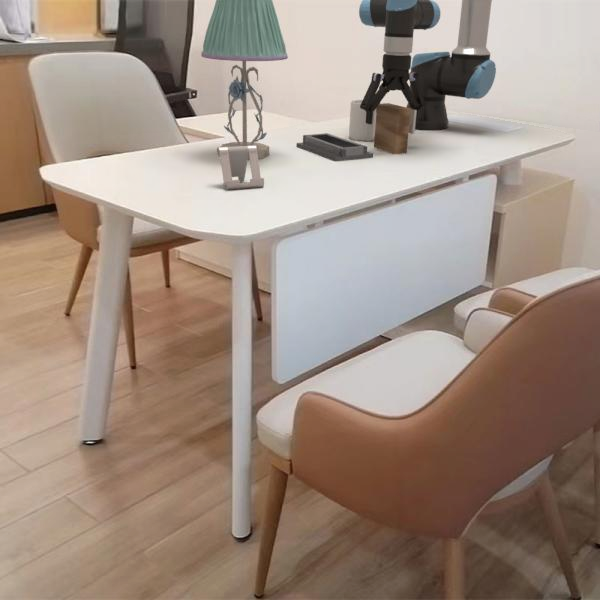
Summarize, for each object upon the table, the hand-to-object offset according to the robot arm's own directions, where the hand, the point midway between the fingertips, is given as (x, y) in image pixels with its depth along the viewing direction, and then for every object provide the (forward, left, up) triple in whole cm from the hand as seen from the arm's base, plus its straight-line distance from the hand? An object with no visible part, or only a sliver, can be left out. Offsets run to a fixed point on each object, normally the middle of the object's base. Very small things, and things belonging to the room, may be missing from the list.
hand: (390, 134), depth 203 cm
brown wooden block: (0, 0, -4) cm, 4 cm away
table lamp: (+40, -10, -4) cm, 41 cm away
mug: (-4, -17, -5) cm, 18 cm away
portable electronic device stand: (+55, +18, -5) cm, 58 cm away
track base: (+16, -4, -4) cm, 17 cm away
